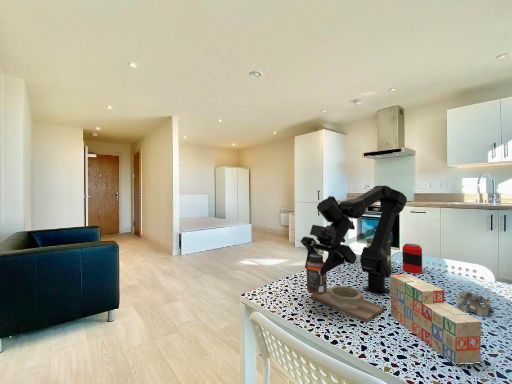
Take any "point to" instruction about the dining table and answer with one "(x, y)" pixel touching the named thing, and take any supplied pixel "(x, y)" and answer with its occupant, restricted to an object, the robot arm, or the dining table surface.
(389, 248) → the coffee can
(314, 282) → the supplement bottle
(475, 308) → the egg carton
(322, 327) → the dining table surface
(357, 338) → the dining table surface
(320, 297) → the collar board
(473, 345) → the stack of blocks
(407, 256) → the soda can
